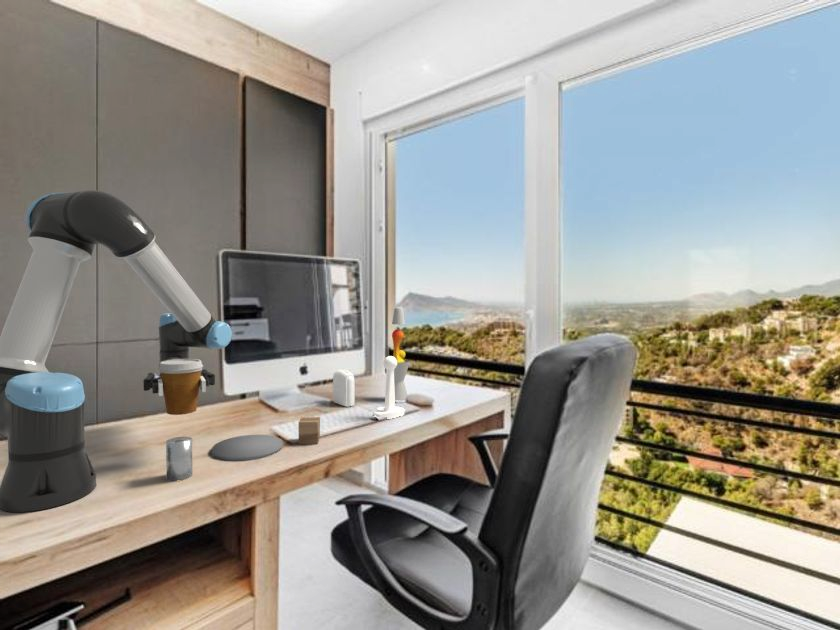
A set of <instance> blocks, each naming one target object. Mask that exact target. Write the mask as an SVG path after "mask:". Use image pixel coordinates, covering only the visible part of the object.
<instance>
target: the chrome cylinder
mask: <svg viewBox="0 0 840 630" xmlns="http://www.w3.org/2000/svg"><path fill="white" fill-rule="evenodd" d="M165 447H166V448H165V455H166V456H165V458H166V459H165V460H166V461H165V463H166V465H165V466H166V467H165V468H166V471H165V472H166V480H167V481H169V480H170V482H178V481H177V480H181V481H184V480H183V479H185V480H188V479H190V478H192V477H193V438H192V437H190V436H177V437H173V438H169V439H167V440H166V441H165ZM189 477H190V478H189ZM187 478H188V479H187Z"/></svg>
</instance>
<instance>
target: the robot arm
mask: <svg viewBox="0 0 840 630" xmlns="http://www.w3.org/2000/svg"><path fill="white" fill-rule="evenodd" d="M25 223H26V226H27V227H28V231H29V236H28V238H27V242H28V243H29V245H30V246H31V247H32V250H33V251H32V253H31V256H30V258H29V261H28V264H27V266H26V269H25V271H24V274H23V277H22V279H21V282H20V285H19V287H18V290H17V291H16V294H15V297H14V300H13V302H12V304H11V307H10V310H9V312H8V316H7V317H6V321H5V323H4V326H3V328H2V331H1V334H0V437H1V438H2V437H3V438H6V439H7V453H8V454H7V456H8V457H7V458H8V460H7V461H8V463H7V466H6V468H5V470H4V473H3V476H2V479H1V482H0V510H1V511H4V512H9V513H27V512H34V511H40V510H41V511H42V510H46V509H51V508H55V506H56V507H58V506H63V505H66V504H68V503H72V502H74V501H77V500H79V499H81V498H83V497H85V496H87V495H89V494H91V492H93V491H95V489H96V487H97V475H96V472H95V470H94V467H93V465H92V462H91V460H90V458H89V455H88V454H87V451H86V444H85V443H86V441H85V430H86V429H85V400H86V395H85V390H84V384H83V382H82V379H80V378H79V377H78V376H76V375H73V374H69V373H65V372H50V371H49V370H48V369H47V367H46V365H45V364H46V361H47V358H48V355H49V353H50V350H51V347H52V343H53V341H54V338H55V336H56V332H57V330H58V327H59V324H60V321H61V319H62V315H63V313H64V309H65V308H66V305H67V302H68V299H69V296H70V293H71V290H72V287H73V284H74V282H75V279H76V276H77V273H78V270H79V268H80V264H81V263H83V262H86V261H88V260H89V261H90V260H91V257H92V256H93V253H94V250H95V247H96V244H98V245H101V246H103V247H105V248H107V249H108V250H109V251H110V252H111V253H112V254H113V255H114V256H115V257H116V258H118V259H122V260H123V259H124V261H125V262H126V263H127V264H128V265H129V267H130V268H132V270H133V271H134V273H136V275H137V276H138V277H139V278H140V279H141V281H142V282H143V283H144V284H145V285H146V286H147V287H148V289H149V290H150V291H151V292H152V293H153V295H154V296H155V297H156V298H157V299H158V300H159V302H161V304H162V305H163V306H164V307H165V308H166V309H167V310H168V311H169V312H166V313H162V314H160V316H159V319H158V320H159V322H158V327H157V329H158V336H159V337H158V342H159V345H158V346H159V355H158V356H159V362H158V367H159V366H160V362H162V361H167V360H175V359H190V348H200V349H209V350H217V349H218V350H219V349H220V350H221V349H224V348H226V347H227V346H228V345H229V344H230V343H231V340H232V337H233V331H232V327H231V326H230V325H229V324H228V323H227V322H223V321H220V320H216V319H215V318H214V317H213V315H212V314H211V313H210V311H209V310H208V309H207V308H206V306H205V305H204V304H203V302H202V301H201V300H200V299H199V297H198V296H197V295H196V293H195V292H194V290H193V289H192V288H191V286H190V285H189V284H188V283H187V282H186V280H185V279H184V278H183V277H182V275H181V274H180V272H178V270H177V269H176V268H175V266H174V265H173V263H172V262H171V261H170V259H169V258H168V257H167V255H166V254H165V253H164V251H163V250H162V249H161V248H160V247H159V245H158V244H157V243H156V242H155V240H156V234H155V233H154V231H153V230H152V229H151V227H150V226H149V225H148V223H146V221H145V220H144V219H143V218H142V217H141V216H140V215H139V214H138V213H137V212H136V211H135V210H134V209H133V208H132V207H131V206H129V205H128V204H127V203H126V202H124V201H123V200H121V199H120V198H118V197H117V196H115V195H113V194H111V193H108V192H106V191H102V190H96V189H89V190H82V191H73V192H53V193H49V194H46V195H43V196H41V197H40V196H39V197H38V198H36V199H35V200H34V201H33V202H32V203H31V204H30V205H29V207H28V209H27V211H26V215H25ZM142 381H143V391H146V392H147V391H150V390H151V391H152V394H158V397H164V392H163V383H162V379H161V374H160V373H159V374H158V375H157V373H154V372H149V373H147V376H146V377H145V378H144V379H143V380H142ZM214 385H216V375H215V373H212V372H209V371H208V370H207V369H202V370H201V376H200V384H199V390H200V391H201V392H202V393H206V392H207V387H210V386H214Z"/></svg>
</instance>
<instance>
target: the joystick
mask: <svg viewBox="0 0 840 630" xmlns="http://www.w3.org/2000/svg"><path fill="white" fill-rule="evenodd" d="M383 366H384V368H385V370H386V376H385V378H386V379H385V391H384V393H385V394H384V406H379V407H377V408H376V411H372V415H373V414H374V415H376V416H377V417H387V419H391V420H393V419H392V418H395V419H397V418H396V417H399V416H401V417H403V415H404V416H405V408H404V407H400V406H396V403H395V389H394V369H395V368H396V366H397V360H396V358H395V357H393V355H388V356H386V357H385V358H384V359H383ZM399 418H400V417H399Z"/></svg>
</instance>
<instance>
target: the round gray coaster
mask: <svg viewBox="0 0 840 630" xmlns="http://www.w3.org/2000/svg"><path fill="white" fill-rule="evenodd" d="M283 442H284V441H283V440H282V438H279V437H277V436H274V435H270V434H248V435H247V434H246V435H239V436H234V437H230V438H227V439H224V440H221V441H218V442H217V443H215V444H214V445H213V446H212V447H211V455H212V456H213V457H214V458H216V459H219V460H222V461H230V462H243V461H244V462H245V461H251V460H253V459H254V460H259V459H263V457H264V458H266V456H267V457H270V456H273V455H275V454H277V453H278V451H279V452H280V451H281V450H283V447H284V443H283ZM274 453H275V454H274ZM272 454H273V455H272ZM269 455H270V456H269Z"/></svg>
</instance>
